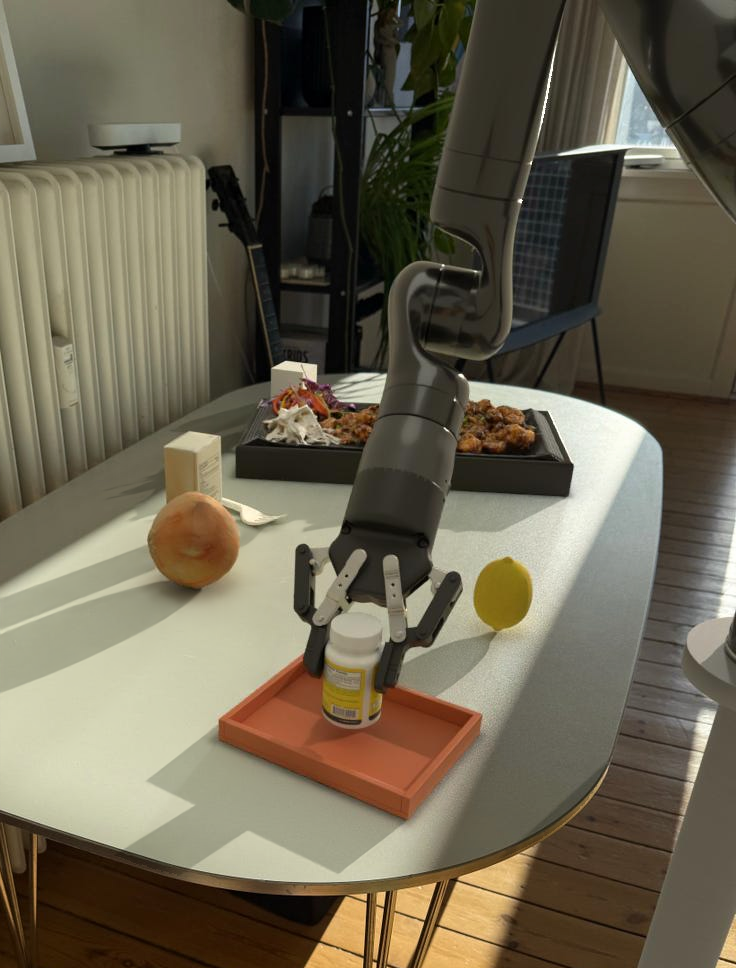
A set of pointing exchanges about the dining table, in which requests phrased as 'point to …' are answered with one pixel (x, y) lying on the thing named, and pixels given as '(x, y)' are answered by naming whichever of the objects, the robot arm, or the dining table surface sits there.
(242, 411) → the dining table surface
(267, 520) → the fork
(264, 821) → the dining table surface
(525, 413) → the food platter
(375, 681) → the robot arm
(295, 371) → the off-white cube
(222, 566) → the onion
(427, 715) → the tray
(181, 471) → the cosmetic box
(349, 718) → the supplement bottle
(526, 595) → the lemon
